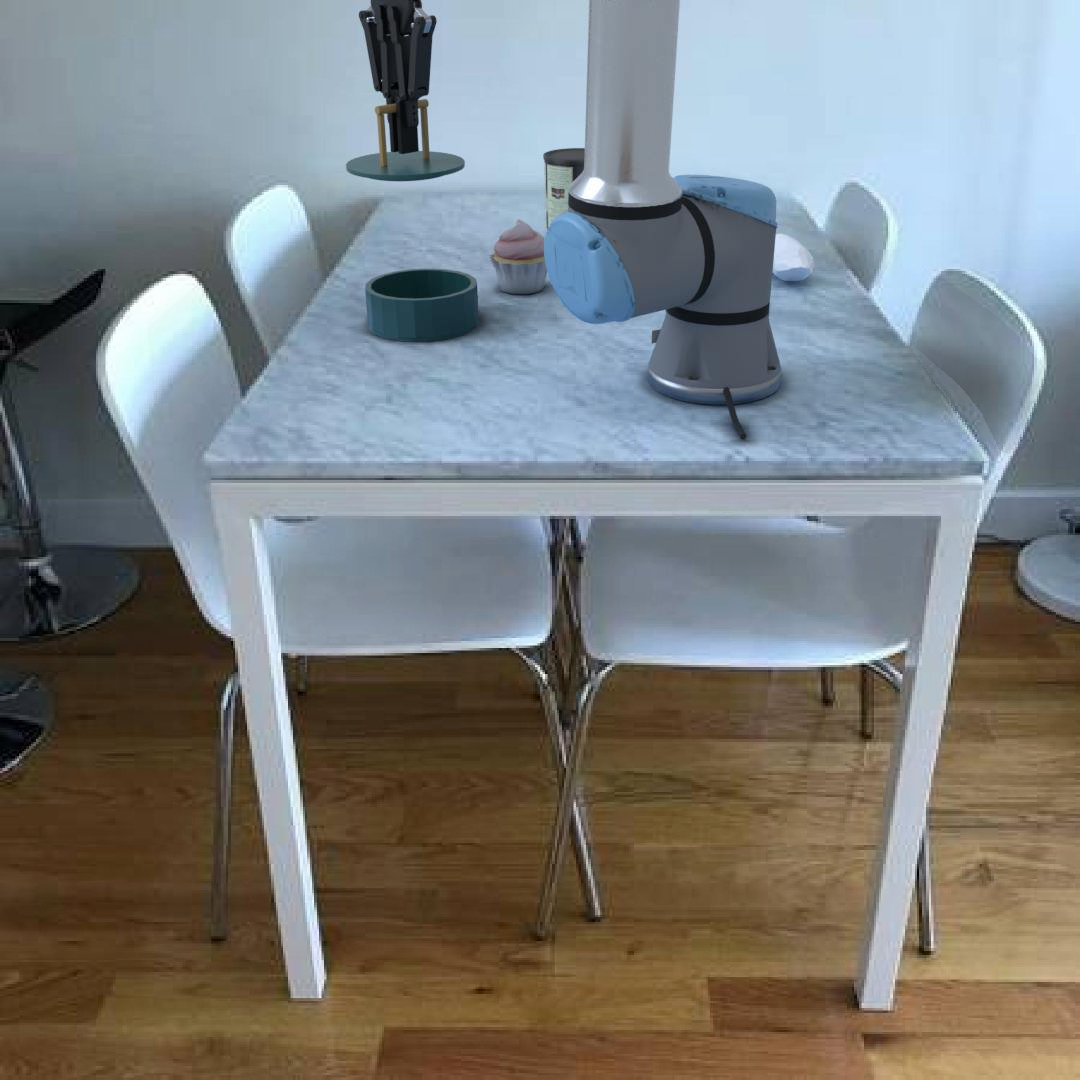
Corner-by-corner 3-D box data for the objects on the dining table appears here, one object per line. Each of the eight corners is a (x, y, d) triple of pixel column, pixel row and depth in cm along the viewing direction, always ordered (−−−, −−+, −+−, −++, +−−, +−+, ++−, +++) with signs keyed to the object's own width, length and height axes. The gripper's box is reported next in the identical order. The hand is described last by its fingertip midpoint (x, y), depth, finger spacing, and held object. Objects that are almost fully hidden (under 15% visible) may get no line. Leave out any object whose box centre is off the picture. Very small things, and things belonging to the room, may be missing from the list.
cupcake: (514, 276, 184) (513, 208, 179) (566, 286, 179) (565, 216, 174) (476, 291, 177) (473, 221, 172) (528, 302, 172) (526, 230, 167)
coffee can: (611, 235, 204) (613, 148, 198) (602, 251, 195) (603, 160, 189) (551, 233, 206) (550, 146, 199) (538, 249, 197) (537, 158, 190)
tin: (500, 323, 164) (499, 283, 161) (413, 349, 155) (410, 307, 152) (432, 301, 173) (430, 262, 171) (346, 324, 165) (343, 284, 162)
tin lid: (489, 171, 162) (487, 102, 158) (394, 190, 153) (389, 117, 149) (416, 155, 172) (412, 89, 168) (323, 172, 163) (316, 103, 159)
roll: (780, 293, 174) (783, 253, 171) (757, 270, 185) (760, 232, 182) (821, 291, 175) (825, 251, 172) (796, 268, 185) (799, 231, 182)
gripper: (453, -47, 148) (461, 154, 159) (382, -51, 157) (395, 140, 168) (403, -44, 144) (415, 163, 155) (334, -48, 153) (349, 148, 164)
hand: (404, 151), depth 161 cm, fingers closed on tin lid
